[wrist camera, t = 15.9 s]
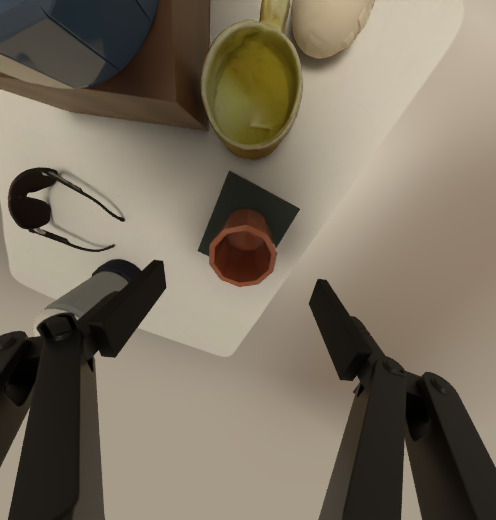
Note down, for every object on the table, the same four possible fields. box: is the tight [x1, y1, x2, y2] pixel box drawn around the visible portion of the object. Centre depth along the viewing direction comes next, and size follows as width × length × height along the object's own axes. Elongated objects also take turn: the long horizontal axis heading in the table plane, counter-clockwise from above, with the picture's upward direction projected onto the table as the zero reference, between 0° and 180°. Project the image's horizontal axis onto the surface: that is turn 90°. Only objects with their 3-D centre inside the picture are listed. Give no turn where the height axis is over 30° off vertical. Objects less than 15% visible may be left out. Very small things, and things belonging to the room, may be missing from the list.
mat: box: [198, 171, 300, 256], centre depth 29 cm, size 14×12×1 cm
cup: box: [209, 208, 277, 287], centre depth 25 cm, size 8×8×10 cm
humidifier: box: [33, 259, 141, 337], centre depth 23 cm, size 8×8×25 cm
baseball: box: [292, 0, 375, 58], centre depth 16 cm, size 7×7×7 cm
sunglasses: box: [8, 167, 124, 252], centre depth 27 cm, size 10×12×5 cm
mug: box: [200, 0, 303, 160], centre depth 19 cm, size 12×10×10 cm
